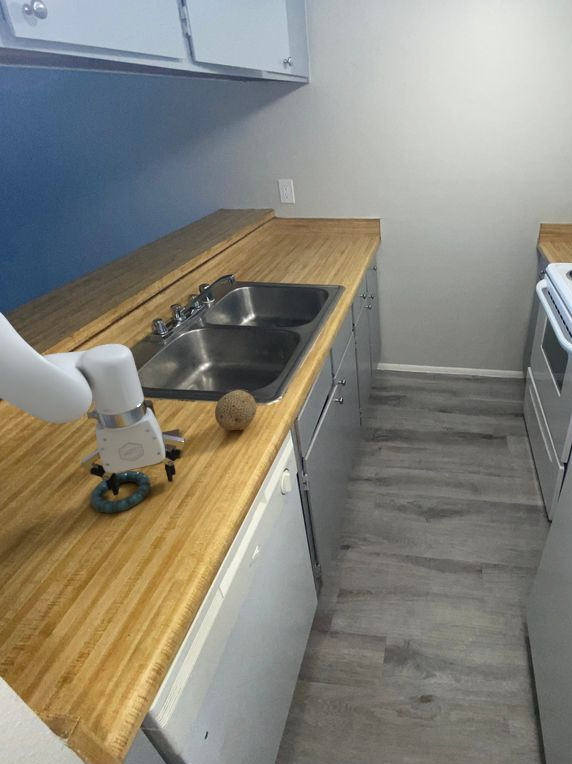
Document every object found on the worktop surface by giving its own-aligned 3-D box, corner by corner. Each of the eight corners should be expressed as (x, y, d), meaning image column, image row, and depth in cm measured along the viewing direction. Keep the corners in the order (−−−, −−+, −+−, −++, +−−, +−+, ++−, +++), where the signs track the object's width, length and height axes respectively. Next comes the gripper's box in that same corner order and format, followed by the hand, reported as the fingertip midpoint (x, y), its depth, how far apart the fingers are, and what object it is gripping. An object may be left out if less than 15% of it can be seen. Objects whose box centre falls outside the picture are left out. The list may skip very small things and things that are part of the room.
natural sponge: (242, 445, 105) (236, 409, 100) (209, 436, 107) (202, 399, 103) (266, 423, 112) (262, 387, 108) (235, 414, 115) (229, 379, 110)
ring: (88, 521, 85) (85, 513, 84) (95, 484, 93) (92, 476, 92) (150, 505, 89) (148, 497, 88) (151, 471, 97) (149, 463, 96)
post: (133, 467, 97) (119, 419, 92) (135, 441, 105) (122, 396, 99) (180, 457, 101) (169, 410, 95) (179, 432, 108) (169, 387, 102)
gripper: (61, 434, 78) (90, 510, 86) (176, 412, 84) (193, 484, 92) (68, 410, 84) (95, 483, 92) (175, 391, 90) (191, 460, 98)
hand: (144, 483), depth 92 cm, fingers open, 9 cm apart
